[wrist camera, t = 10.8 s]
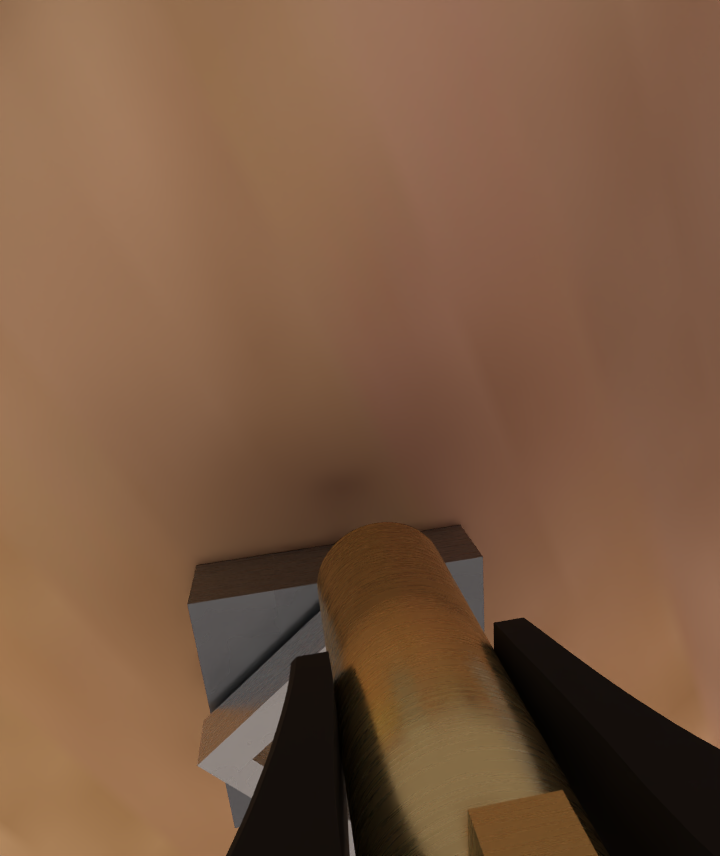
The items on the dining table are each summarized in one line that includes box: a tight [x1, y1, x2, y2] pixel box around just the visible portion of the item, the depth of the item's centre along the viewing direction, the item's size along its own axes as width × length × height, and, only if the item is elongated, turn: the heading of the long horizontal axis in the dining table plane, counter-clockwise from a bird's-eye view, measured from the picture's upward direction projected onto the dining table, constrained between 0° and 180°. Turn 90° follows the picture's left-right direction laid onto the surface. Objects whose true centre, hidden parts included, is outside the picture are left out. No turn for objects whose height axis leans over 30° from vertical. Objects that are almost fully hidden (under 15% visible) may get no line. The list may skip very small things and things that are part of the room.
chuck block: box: [188, 525, 484, 828], centre depth 22 cm, size 10×10×2 cm
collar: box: [197, 611, 355, 856], centre depth 21 cm, size 17×7×2 cm, turn 44°
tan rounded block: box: [317, 522, 610, 856], centre depth 10 cm, size 3×5×9 cm, turn 4°
